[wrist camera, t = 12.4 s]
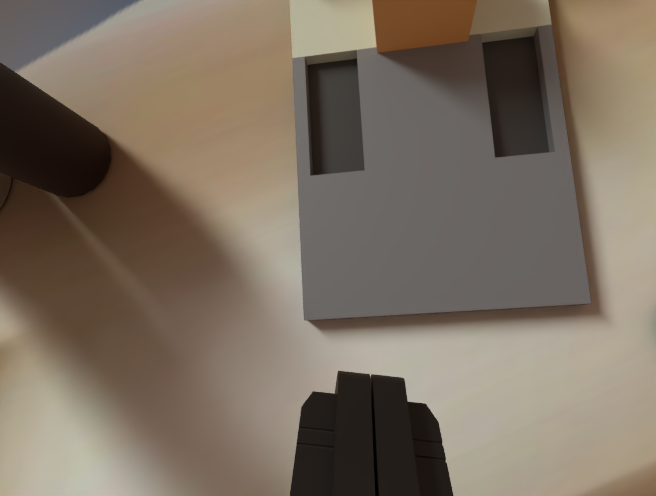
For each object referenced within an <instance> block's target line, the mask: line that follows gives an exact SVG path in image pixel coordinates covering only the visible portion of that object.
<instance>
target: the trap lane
mask: <svg viewBox="0 0 656 496" xmlns="http://www.w3.org/2000/svg"><path fill="white" fill-rule="evenodd" d="M290 15H291V37H292V60H293V82H294V105H295V128H296V150H297V173H298V195H299V218H300V241H301V263H302V286H303V308H304V320H306V321H311V320H328V319H345V318H362V317H379V316H397V315H414V314H431V313H448V312H465V311H482V310H499V309H516V308H534V307H551V306H568V305H584V304H591V297H590V290H589V283H588V276H587V269H586V262H585V255H584V248H583V241H582V234H581V227H580V220H579V213H578V206H577V199H576V192H575V185H574V178H573V171H572V164H571V157H570V150H569V143H568V136H567V129H566V122H565V115H564V108H563V101H562V93H561V86H560V79H559V72H558V65H557V58H556V51H555V44H554V37H553V30H552V23H551V16H550V9H549V2H548V0H477V3H476V8H475V12H474V17H473V21H472V26H471V30H470V35H469V39H468V41H467V42H459V43H451V44H443V45H435V46H427V47H419V48H411V49H403V50H396V51H388V52H380V53H377V47H376V37H375V26H374V15H373V5H372V0H290Z"/></svg>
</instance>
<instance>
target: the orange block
mask: <svg viewBox="0 0 656 496" xmlns="http://www.w3.org/2000/svg"><path fill="white" fill-rule="evenodd" d="M476 3H477V0H372V5H373V15H374V26H375V37H376V47H377V53H380V52H388V51H396V50H403V49H411V48H419V47H427V46H435V45H443V44H451V43H459V42H467V41H468V39H469V35H470V30H471V26H472V21H473V17H474V12H475V8H476Z"/></svg>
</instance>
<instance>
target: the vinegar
mask: <svg viewBox="0 0 656 496" xmlns="http://www.w3.org/2000/svg"><path fill="white" fill-rule="evenodd" d="M110 160H111V157H110V146H109V144H108V141H107V138H106V137H105V135H104V134H103V133H102V132H101V131H100V130H99V128H97V127H96V126H94V125H93V124H91V123H90V122H88V121H87V120H85V119H84V118H82V117H81V116H79V115H78V114H76V113H75V112H73V111H72V110H70V109H69V108H67V107H66V106H65V105H63V104H62V103H60V102H59V101H57V100H56V99H54V98H53V97H51V96H50V95H48V94H47V93H45V92H44V91H42V90H41V89H39V88H38V87H36V86H35V85H33V84H32V83H30V82H29V81H27V80H26V79H24V78H23V77H21V76H20V75H18V74H17V73H15V72H14V71H12V70H11V69H9V68H8V67H6V66H5V65H3V64H2V63H0V173H3V174H5V175H8V176H10V177H13V178H15V179H18V180H20V181H23V182H25V183H28V184H30V185H33V186H35V187H38V188H40V189H43V190H45V191H48V192H50V193H53V194H55V195H59V196H64V197H75V196H81V195H83V194H85V193H87V192H89V191H91V190H93V189H94V188H95V187H96V186H97V185H98V184H99V183H100V182H101V181H102V179H103V178H104V176H105V174H106V173H107V171H108V167H109V164H110Z"/></svg>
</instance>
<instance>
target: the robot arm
mask: <svg viewBox="0 0 656 496" xmlns="http://www.w3.org/2000/svg"><path fill="white" fill-rule="evenodd" d="M11 179H12V177H10V176H8V175H5V174H3V173H0V208H1V206H2V205H3V203H4V201H5V199H6V197H7V195H8V192H9V189H10V185H11ZM445 460H446V458H445V453H444V448H443V446H442V438H441V433H440V428H439V423H438V421H437V419H436V418H435V417H434V415H433V414H432V412H431V411H430V409H429V408H428V407H427V405H426V404H423V403H414V402H407V395H406V387H405V381H404V378H400V377H391V376H382V375H373V374H372V375H371V378H370V375H369V374H362V373H353V372H344V371H338V374H337V381H336V388H335V394H332V393H323V392H314V391H313V392H312V394H311V395H310V396H309V398H308V399H307V400H306V402H305V403H304V404H303V406H302V408H301V416H300V423H299V431H298V438H297V446H296V454H295V461H294V469H293V476H292V484H291V491H290V496H453V492H452V487H451V482H450V477H449V472H448V467H447V463H446V462H445Z"/></svg>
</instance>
